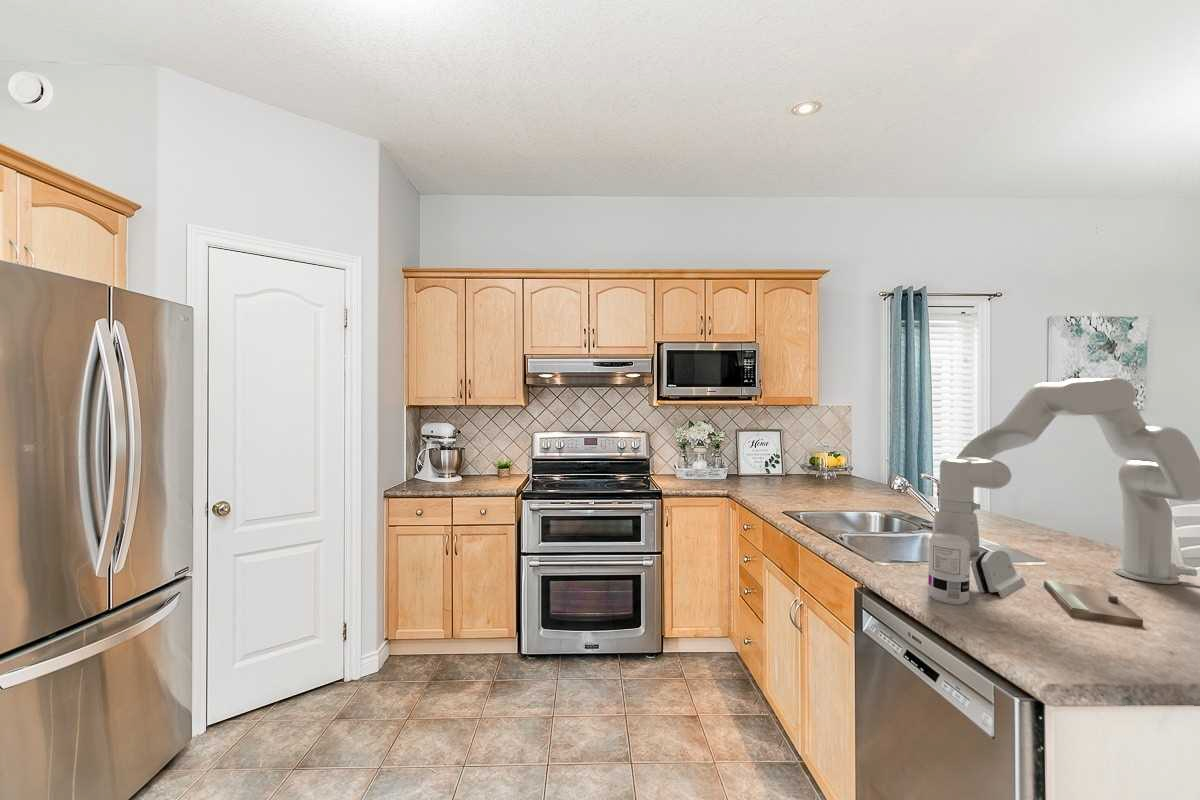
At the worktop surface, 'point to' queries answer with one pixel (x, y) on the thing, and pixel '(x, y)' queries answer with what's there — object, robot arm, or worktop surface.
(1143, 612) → the worktop surface
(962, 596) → the supplement can
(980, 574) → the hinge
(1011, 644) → the worktop surface
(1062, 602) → the door panel
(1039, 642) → the worktop surface
